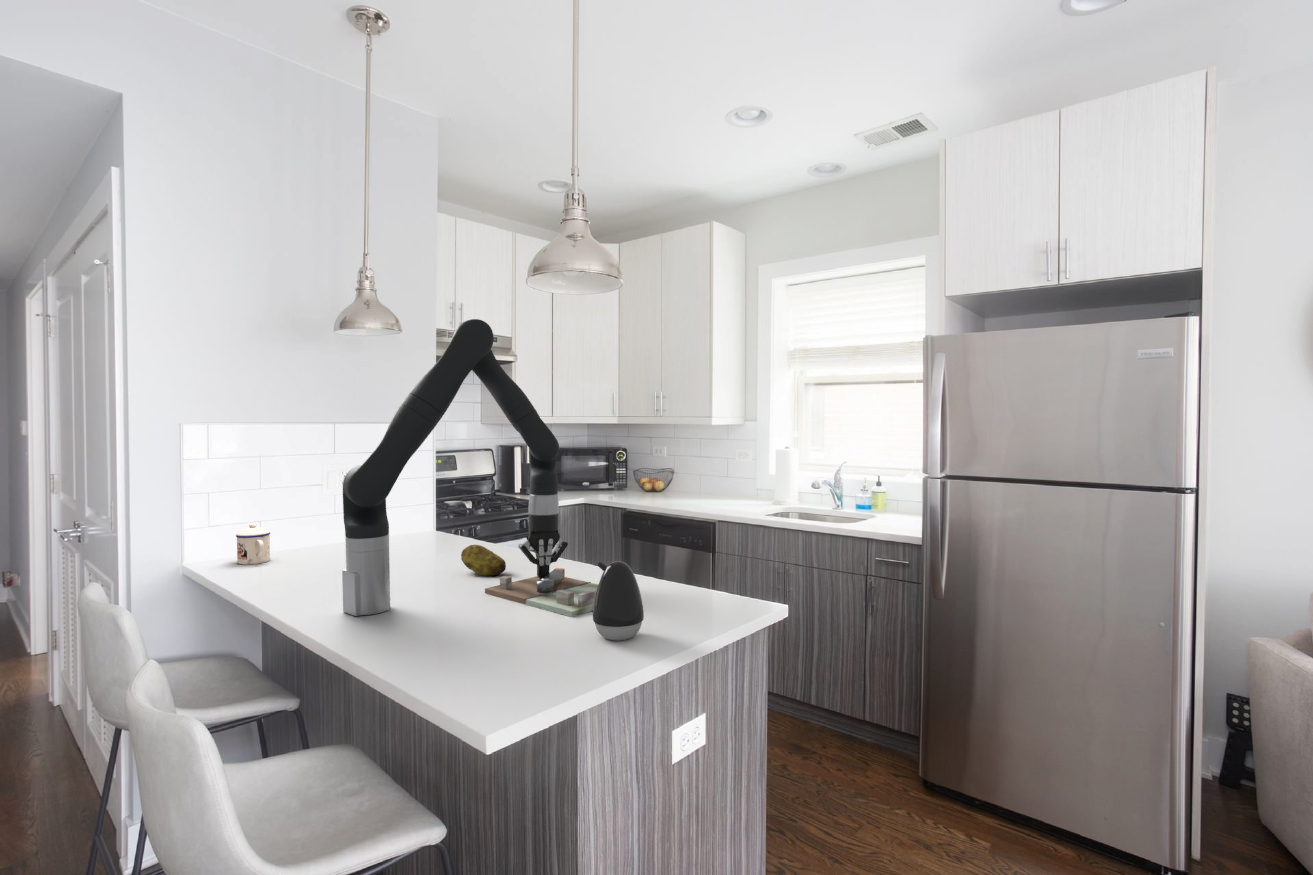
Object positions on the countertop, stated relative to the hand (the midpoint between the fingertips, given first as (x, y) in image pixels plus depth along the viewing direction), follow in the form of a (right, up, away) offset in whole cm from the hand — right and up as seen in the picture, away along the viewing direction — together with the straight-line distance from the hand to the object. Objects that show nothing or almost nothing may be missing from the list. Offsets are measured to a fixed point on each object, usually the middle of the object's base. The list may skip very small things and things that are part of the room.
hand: (543, 579), depth 176 cm
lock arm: (+3, -1, -3) cm, 4 cm away
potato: (-20, -2, +18) cm, 27 cm away
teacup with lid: (-94, -2, +35) cm, 100 cm away
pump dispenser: (+21, -4, -37) cm, 43 cm away
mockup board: (+5, -3, -5) cm, 8 cm away
